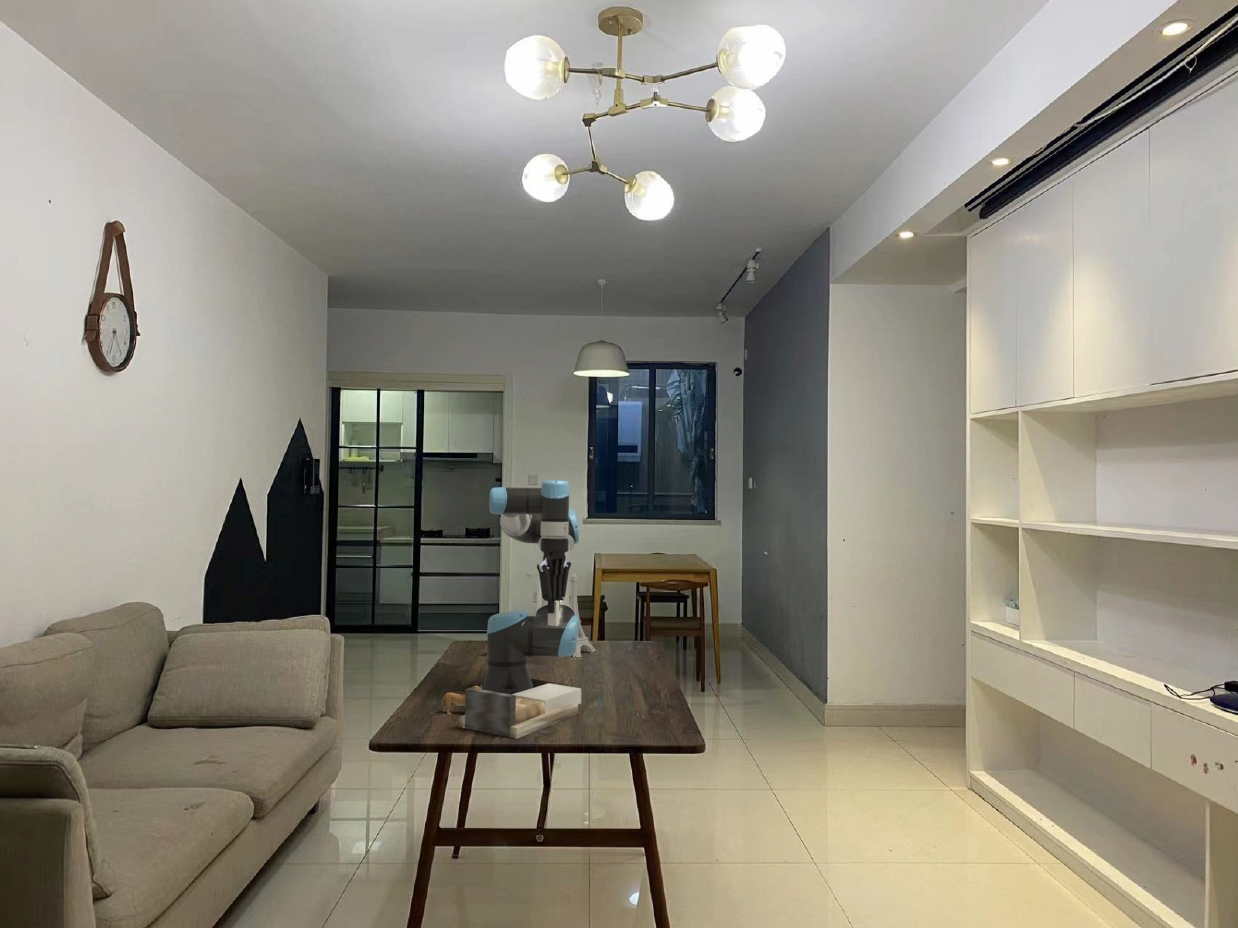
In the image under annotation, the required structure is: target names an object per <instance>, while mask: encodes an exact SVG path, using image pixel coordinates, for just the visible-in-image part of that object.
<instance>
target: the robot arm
mask: <svg viewBox="0 0 1238 928" xmlns="http://www.w3.org/2000/svg"><path fill="white" fill-rule="evenodd" d="M489 491H490V492H489V512H490V513H491V514H493V515H500V520H499V524H500V527H501V530H502V531H503V533H504V534H505V535H506V536H507V537H510V538H511V539H513V540H515V541H518V542H520V543H525V544H537V545H538V547H539V549H540V552H542V562H541V563H540V564H539V563H538V564H537V565H536V569H537V570H538V572H539V577H540V584H541V592H542V597H541V607H540V608H539V609H538V610H537V609H536V612H535V615H529V613H528V611H527V610H510V611H505V612H504V611H503V612H499V613H496V614H494V615H491V616H490V617H489V618H488V620H487V621H488V622H487V631H486V634H487V641H486V642H487V644H486V647H487V648H486V653H487V654H486V667H485V671H484V673H483V674H484V675H483V678H482V682H481V684H480V686H479V687H480V688H482V690H487V691H493V692H499V693H505V694H511V695H512V694H515V693H519V692H522V691H525V690H528V689H532V688H534V685H533V682H532V679H531V674H530V671H529V667H528V658H529V657H532V658H533V657H534V658H535V657H537V658H538V657H544V658H545V657H552V658H553V657H554V658H555V657H558V658H563V657H571V656H572V657H573V654H574V653H575V652H576V648H577V641H578V636H579V635H578V633H579V623H580V624H581V622H580V620H581V619H580V618H581V617H580V615H579V616H576V615H575V612H574V610H573V609H572V608H571V607H570V598H571V581H570V580H571V573H570V571H571V570H570V569H571V566H572V562H570V560H571V559H570V557H571V555H570V553H571V551H572V550H573V548H574V546H575V544H576V545H577V544H578V543H579V539H580V537H579V536H580V535H579V533H580V531H579V522H578V517H577V512H576V510H574V509H573V508H570V492H571V491H570V483H569V482H568V481H567V480H543V481H542V482H541V487H505V486H501V487H500V486H498V487H492V488H491V489H490V490H489Z"/></svg>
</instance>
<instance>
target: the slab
mask: <svg viewBox="0 0 1238 928" xmlns="http://www.w3.org/2000/svg"><path fill="white" fill-rule="evenodd" d="M512 695H516V698H521V699H526V700H532V701H538V702H543V703H544V705H545V713H544V714H546V713H549V712H552V711H554V710H557V709H560V708H562V707H565V706H568V705H571V704H575V705H578V706H579V705H581V704H582V687H580V688H579V687H575V686H574V687H573V686H568V685H561V684H556V683H549V682H548V683H545V684H543V685H538V686H536V687H533V688H532V689H528V690H525V691H522V692H519V693H515V694H512Z"/></svg>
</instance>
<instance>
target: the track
mask: <svg viewBox="0 0 1238 928" xmlns="http://www.w3.org/2000/svg"><path fill="white" fill-rule="evenodd" d="M465 691H466V693H465V706H464V710H465V711H464V715H460V716H458V728H461V727H462V729H466V730H471V729H472V731H475V732H481V733H487V734H491V735H496V736H501V737H507V738H511V739H519V738H522V737H524V736H527V735H529V734H532V733H534V732H537V731H540V730H543V729H545V728H548V727H550V726H552V725H556V724H558V723H560V722H563V721H565V720H568V719H570V718H573V717H576V716H578V715H579V704H578V705H575V704H571V705H568V706H565V707H562V708H560V709H557V710H554V711H552V712H549V713H546V714H543V715H541V716H538V717H535V718H532V719H530V720H527V721H524V722H522V723H519V724H516V725H515V711H516V695H511V694H505V693H499V692H493V691H487V690H481V689H475V688H472V687H468V688H465Z"/></svg>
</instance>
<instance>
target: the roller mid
mask: <svg viewBox="0 0 1238 928" xmlns="http://www.w3.org/2000/svg"><path fill="white" fill-rule="evenodd" d="M516 708H517V709H522V710H525V711H526V712H527V720H530V719H532V718H535V717H537V708H536V707H534V706H529V705H524V704H519V703H516Z"/></svg>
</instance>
